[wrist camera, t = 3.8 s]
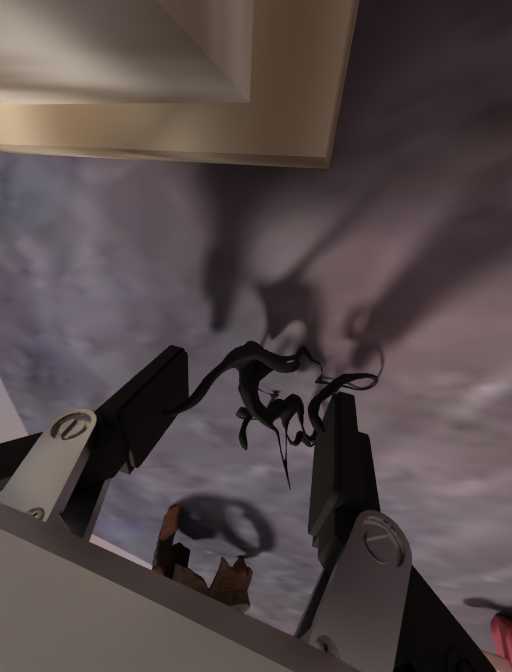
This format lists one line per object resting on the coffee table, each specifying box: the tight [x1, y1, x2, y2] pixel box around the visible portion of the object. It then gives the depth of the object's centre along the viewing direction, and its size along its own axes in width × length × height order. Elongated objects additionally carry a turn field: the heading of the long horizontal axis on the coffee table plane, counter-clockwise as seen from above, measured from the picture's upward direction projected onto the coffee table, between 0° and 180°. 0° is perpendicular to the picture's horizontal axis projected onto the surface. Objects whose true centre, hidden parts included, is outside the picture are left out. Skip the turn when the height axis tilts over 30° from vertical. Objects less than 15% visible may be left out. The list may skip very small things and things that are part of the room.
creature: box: [162, 341, 378, 489], centre depth 11 cm, size 8×5×8 cm
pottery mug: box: [152, 505, 253, 613], centre depth 24 cm, size 12×10×8 cm
